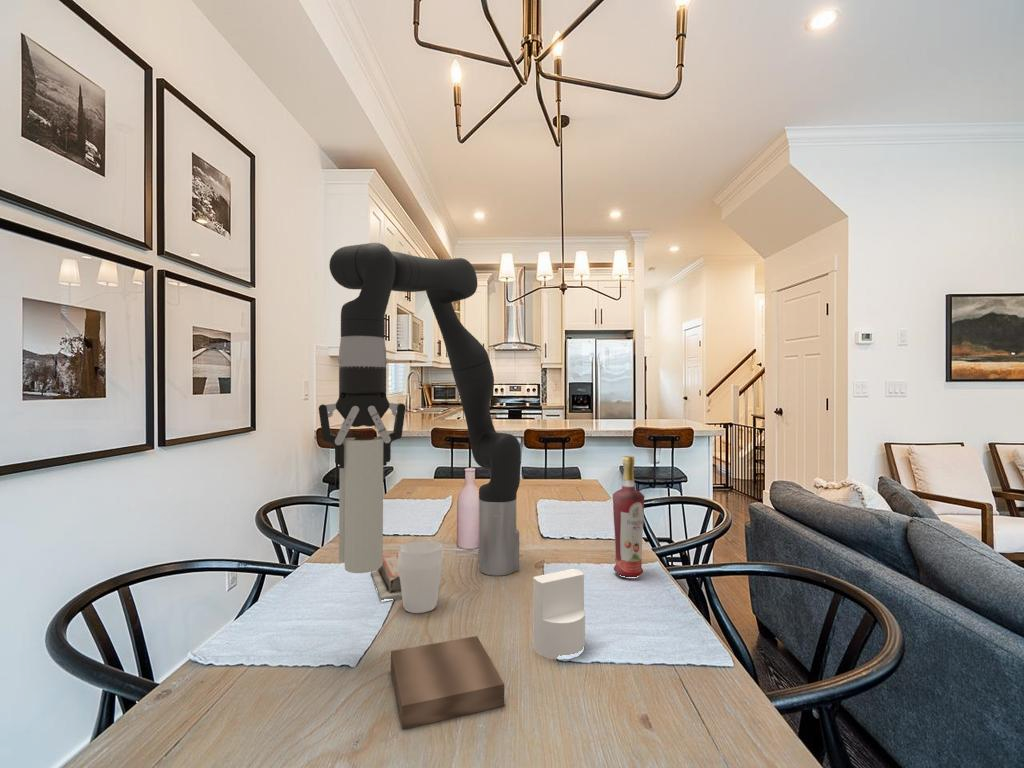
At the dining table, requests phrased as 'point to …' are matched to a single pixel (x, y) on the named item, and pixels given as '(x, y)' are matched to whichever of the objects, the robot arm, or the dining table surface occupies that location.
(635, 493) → the liquor
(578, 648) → the cylinder with rectangular tab
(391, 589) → the packaged product
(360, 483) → the paper towel roll
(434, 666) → the walnut stand
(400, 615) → the dining table surface
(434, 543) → the cup
